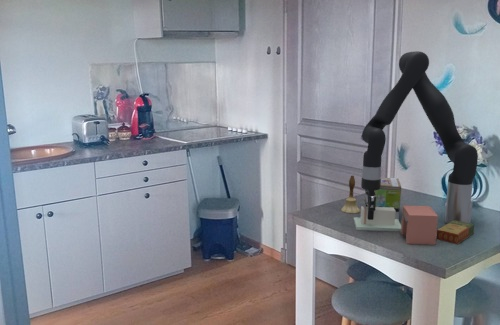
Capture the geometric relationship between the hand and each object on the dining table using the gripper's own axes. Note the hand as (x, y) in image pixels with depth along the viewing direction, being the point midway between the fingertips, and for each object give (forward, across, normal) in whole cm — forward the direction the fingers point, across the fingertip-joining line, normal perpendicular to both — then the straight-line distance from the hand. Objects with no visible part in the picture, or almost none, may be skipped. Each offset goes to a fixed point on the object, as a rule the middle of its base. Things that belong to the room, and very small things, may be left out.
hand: (369, 216), depth 204 cm
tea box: (+4, +16, -10) cm, 19 cm away
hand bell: (+4, +19, +6) cm, 20 cm away
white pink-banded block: (+3, 0, -3) cm, 4 cm away
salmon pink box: (+4, -13, -16) cm, 21 cm away
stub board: (+4, 0, -4) cm, 5 cm away
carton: (+4, -9, -31) cm, 33 cm away
